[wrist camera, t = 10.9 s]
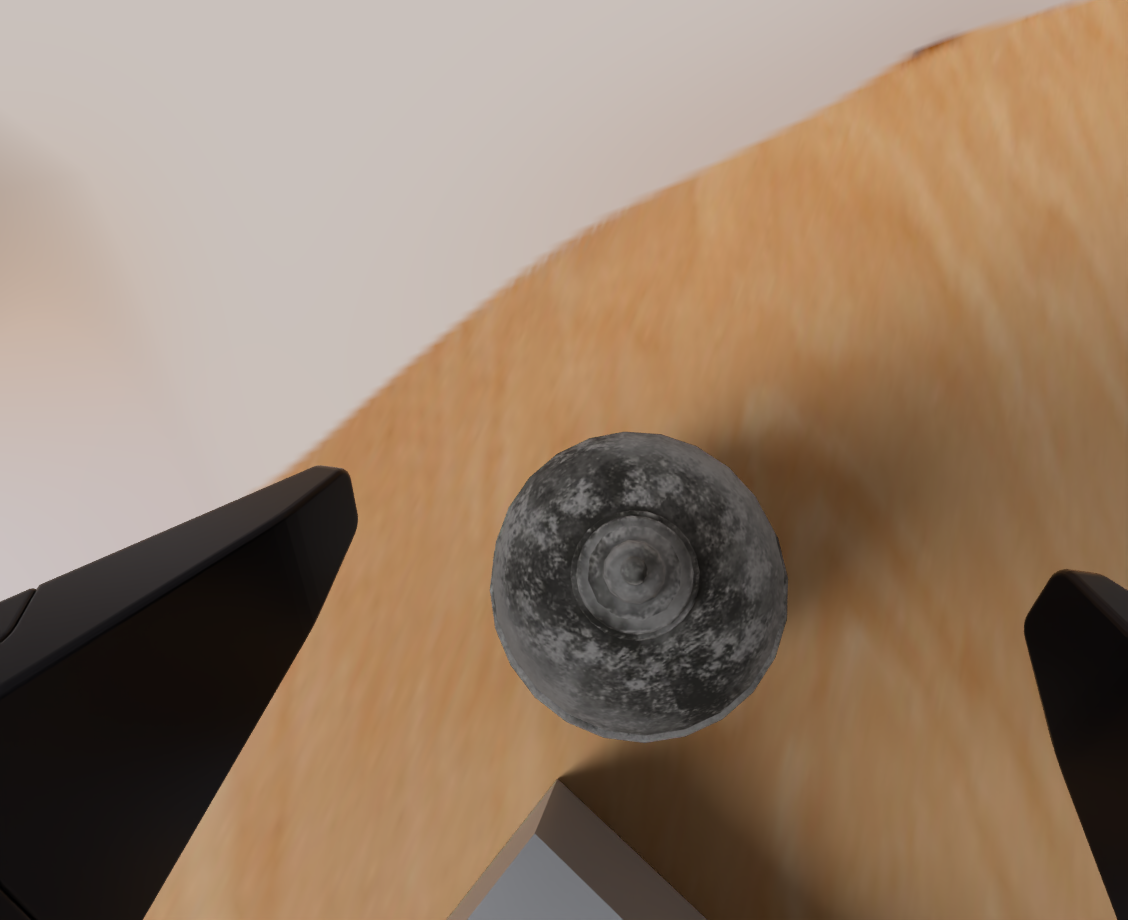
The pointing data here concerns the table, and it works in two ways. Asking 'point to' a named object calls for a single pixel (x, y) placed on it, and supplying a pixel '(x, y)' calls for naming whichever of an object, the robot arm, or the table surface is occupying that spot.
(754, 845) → the table surface
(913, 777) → the table surface
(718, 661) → the salt shaker
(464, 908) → the socket block
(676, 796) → the table surface
